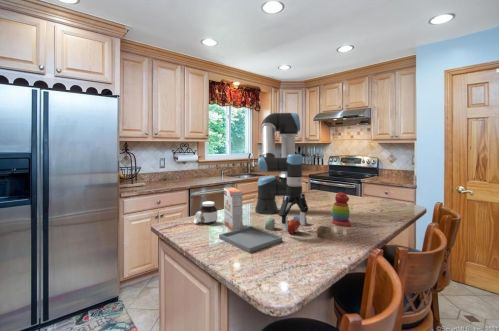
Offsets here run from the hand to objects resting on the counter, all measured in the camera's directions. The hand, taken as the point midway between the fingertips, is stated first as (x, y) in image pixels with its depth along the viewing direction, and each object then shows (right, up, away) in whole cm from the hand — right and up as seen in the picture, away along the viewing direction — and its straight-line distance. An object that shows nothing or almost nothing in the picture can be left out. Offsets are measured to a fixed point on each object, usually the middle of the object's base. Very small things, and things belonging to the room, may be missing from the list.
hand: (293, 227), depth 132 cm
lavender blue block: (+6, -2, +16) cm, 18 cm away
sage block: (-11, -3, +8) cm, 14 cm away
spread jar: (-48, -2, +18) cm, 51 cm away
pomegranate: (0, -3, +1) cm, 3 cm away
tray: (-22, -4, -9) cm, 24 cm away
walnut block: (+14, -4, -5) cm, 15 cm away
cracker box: (-31, -3, +9) cm, 33 cm away
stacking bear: (+30, -2, +17) cm, 34 cm away
